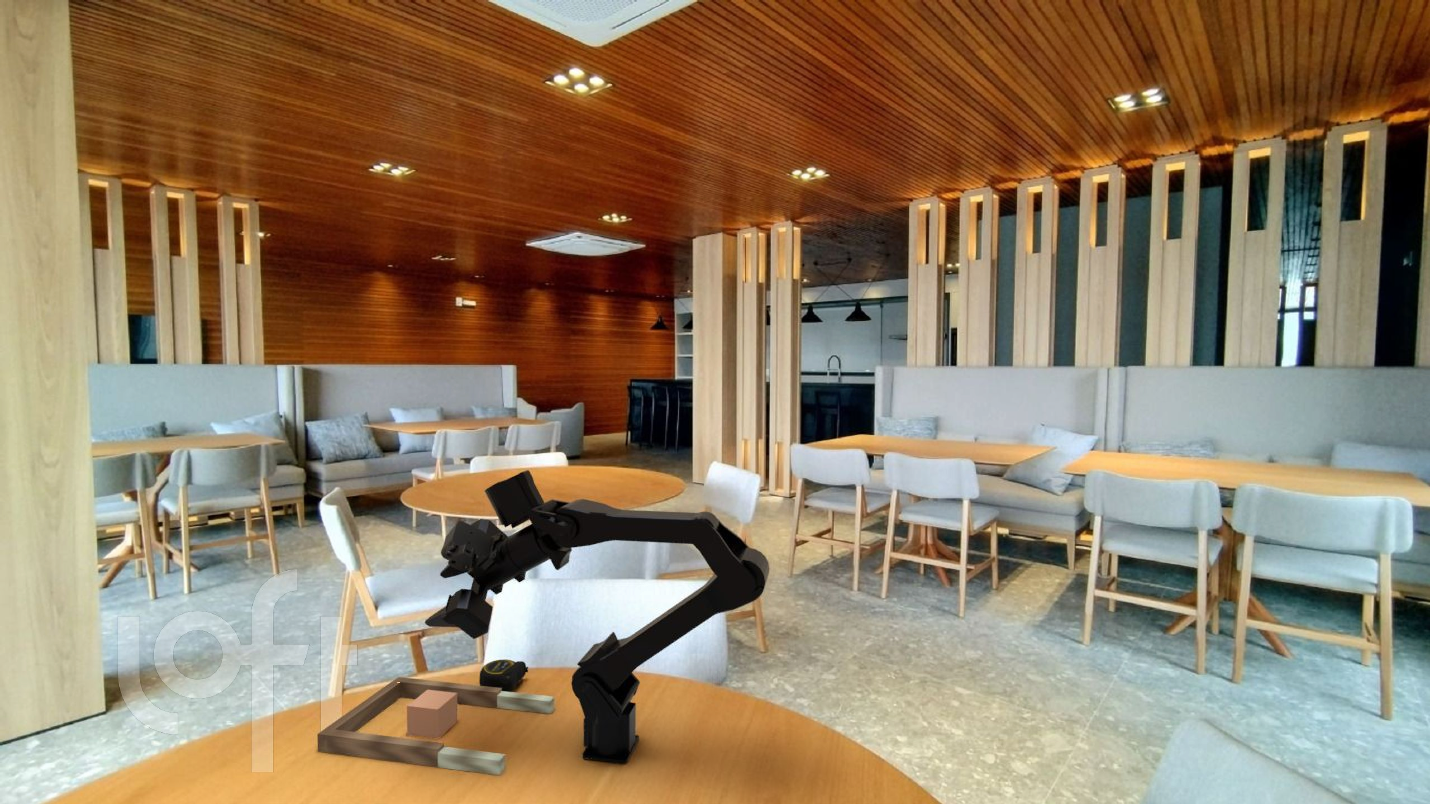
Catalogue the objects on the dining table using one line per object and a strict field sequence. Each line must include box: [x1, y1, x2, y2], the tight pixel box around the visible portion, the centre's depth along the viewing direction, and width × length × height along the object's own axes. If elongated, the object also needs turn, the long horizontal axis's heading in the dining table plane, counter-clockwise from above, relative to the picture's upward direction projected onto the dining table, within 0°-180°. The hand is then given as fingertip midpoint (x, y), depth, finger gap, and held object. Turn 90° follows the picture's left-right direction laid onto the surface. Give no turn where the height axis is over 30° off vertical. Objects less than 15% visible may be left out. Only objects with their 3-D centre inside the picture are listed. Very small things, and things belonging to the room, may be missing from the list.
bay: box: [316, 676, 555, 776], centre depth 99 cm, size 28×18×2 cm, turn 80°
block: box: [406, 690, 458, 740], centre depth 99 cm, size 5×5×4 cm
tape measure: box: [478, 659, 529, 692], centre depth 112 cm, size 7×7×4 cm
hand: (434, 598), depth 98 cm, fingers open, 9 cm apart
